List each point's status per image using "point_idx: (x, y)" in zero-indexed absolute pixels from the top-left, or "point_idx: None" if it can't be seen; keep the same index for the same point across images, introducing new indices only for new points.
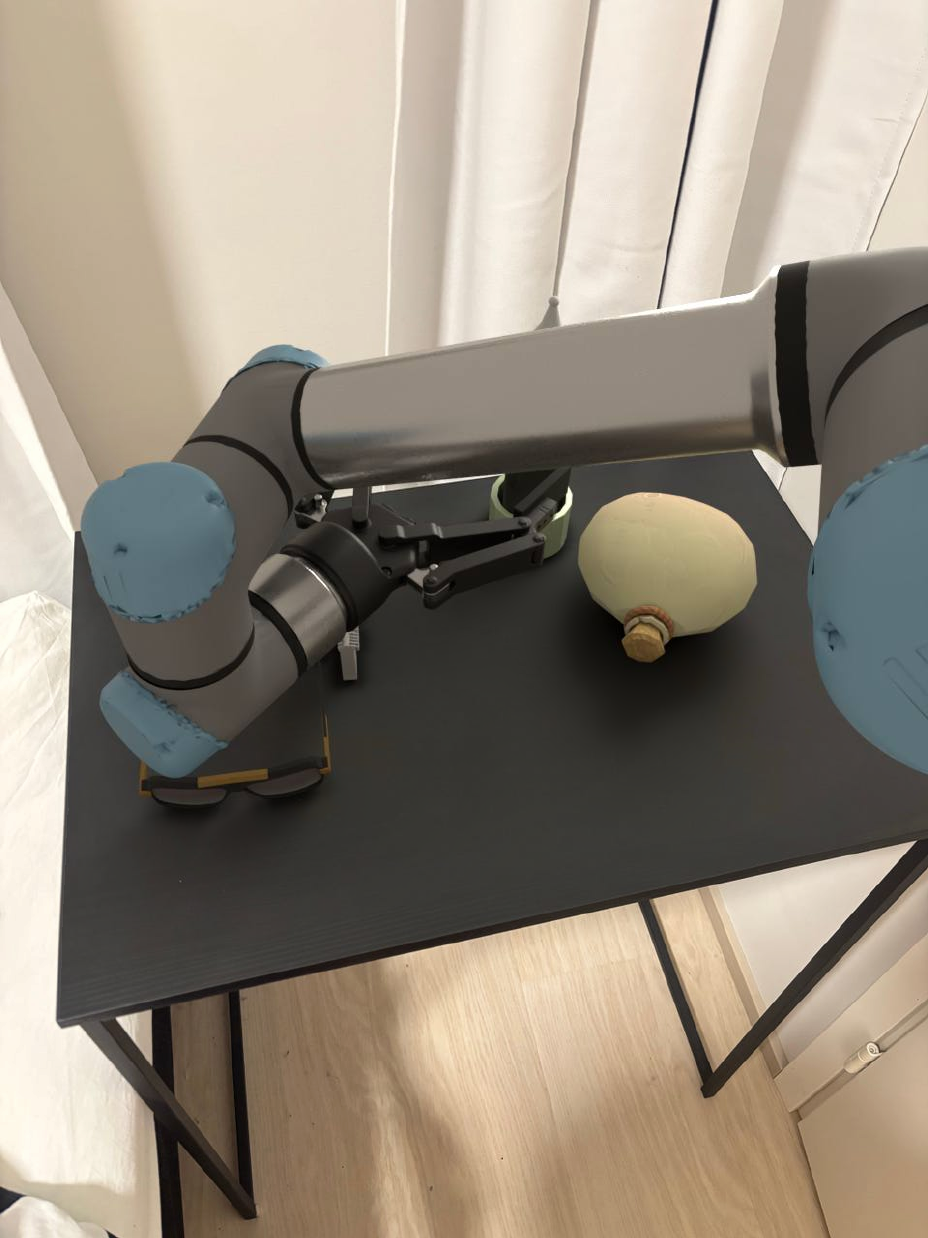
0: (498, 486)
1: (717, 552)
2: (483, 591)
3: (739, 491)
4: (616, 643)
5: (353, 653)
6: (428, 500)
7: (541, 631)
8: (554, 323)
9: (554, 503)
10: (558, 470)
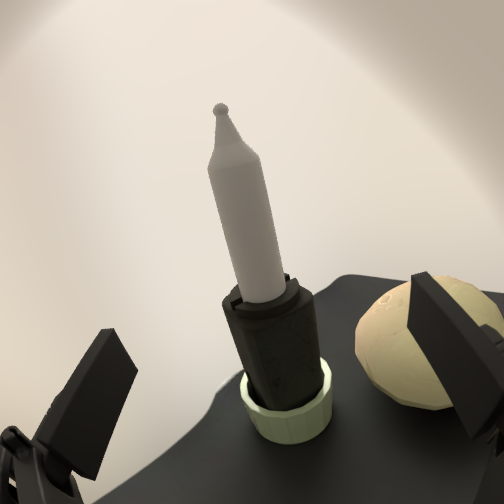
0: (248, 394)
1: (470, 290)
2: (316, 490)
3: (368, 286)
4: (451, 419)
5: None
6: (186, 441)
7: (402, 472)
8: (235, 133)
9: (489, 327)
10: (427, 286)
